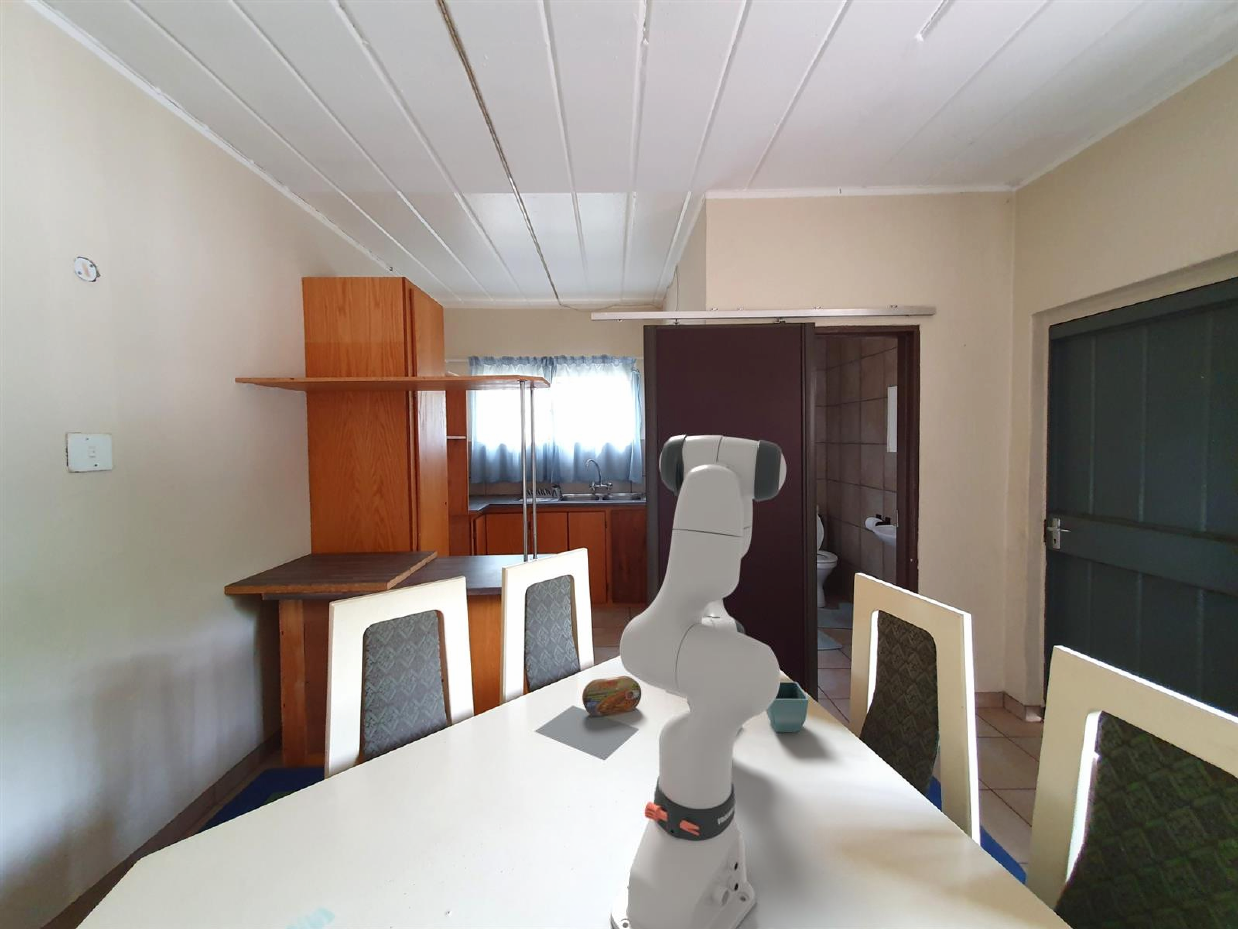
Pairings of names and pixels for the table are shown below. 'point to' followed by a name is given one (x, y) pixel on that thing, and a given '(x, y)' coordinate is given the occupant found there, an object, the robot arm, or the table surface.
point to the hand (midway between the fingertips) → (705, 720)
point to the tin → (611, 696)
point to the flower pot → (788, 708)
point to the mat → (587, 732)
